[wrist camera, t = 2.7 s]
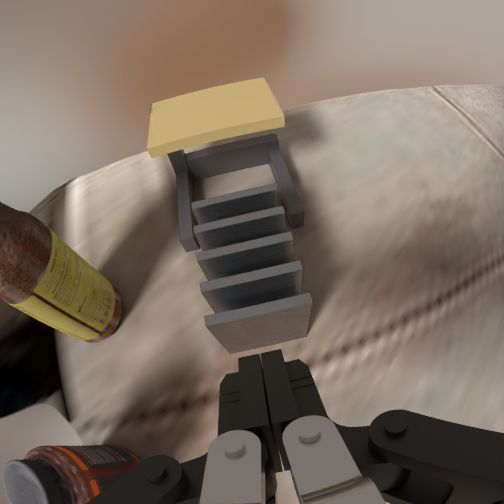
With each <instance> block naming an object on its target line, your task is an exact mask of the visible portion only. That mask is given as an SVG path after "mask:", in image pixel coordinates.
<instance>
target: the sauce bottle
mask: <svg viewBox="0 0 504 504" xmlns="http://www.w3.org/2000/svg"><path fill="white" fill-rule="evenodd" d="M0 297H1V298H3V300H4V301H6V302H7V303H8V304H10V305H12V306H14V307H15V308H17V309H19V310H21V311H22V312H24V313H26V314H28V315H30V316H32V317H33V318H35V319H37V320H39V321H41V322H43V323H45V324H47V325H49V326H51V327H53V328H55V329H57V330H59V331H61V332H63V333H65V334H68V335H70V336H72V337H74V338H77V339H80V340H84V341H86V342H98V341H100V340H103V339H105V338H106V337H109V336H110V335H111V334H112V333H113V332H114V331H115V329H116V328H117V326H118V323H119V321H120V319H121V316H122V301H121V297H120V295H119V292H118V291H117V289H116V288H115V287H114V286H113V285H112V284H111V283H110V282H109V281H108V280H107V279H106V278H105V277H104V276H103V275H102V274H100V273H99V272H98V271H97V270H96V269H94V268H93V267H92V266H91V265H90V264H88V263H87V262H86V261H85V260H84V259H83V258H81V257H80V256H79V255H78V254H77V253H76V252H75V251H74V250H72V249H71V248H70V247H69V246H68V245H67V244H66V243H65V242H63V241H62V240H61V239H60V238H59V237H58V236H57V235H56V234H55V233H54V232H52V231H51V230H50V229H49V228H48V227H47V226H46V225H45V224H44V223H43V222H41V221H40V220H39V219H37V218H35V217H34V216H32V215H30V214H29V213H27V212H22V211H18V210H15V209H13V208H11V207H9V206H7V205H5V204H3V203H1V202H0Z"/></svg>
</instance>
